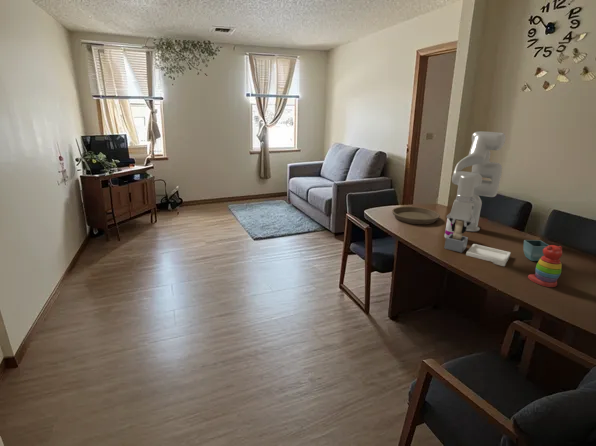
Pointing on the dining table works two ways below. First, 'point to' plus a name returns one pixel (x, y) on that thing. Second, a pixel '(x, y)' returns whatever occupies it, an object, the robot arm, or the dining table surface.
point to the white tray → (489, 254)
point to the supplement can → (448, 228)
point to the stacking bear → (548, 267)
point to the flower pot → (534, 249)
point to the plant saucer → (415, 215)
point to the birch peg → (458, 230)
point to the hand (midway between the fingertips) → (458, 231)
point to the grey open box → (456, 243)
